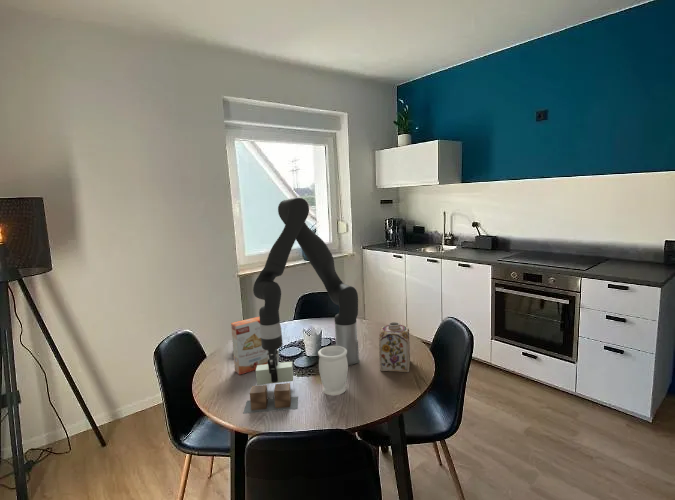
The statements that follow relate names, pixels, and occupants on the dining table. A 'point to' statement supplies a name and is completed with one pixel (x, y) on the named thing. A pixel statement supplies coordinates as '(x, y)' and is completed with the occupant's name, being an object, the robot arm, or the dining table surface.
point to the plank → (283, 373)
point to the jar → (333, 369)
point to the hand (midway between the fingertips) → (275, 378)
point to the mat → (271, 406)
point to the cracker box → (247, 345)
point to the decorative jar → (394, 348)
